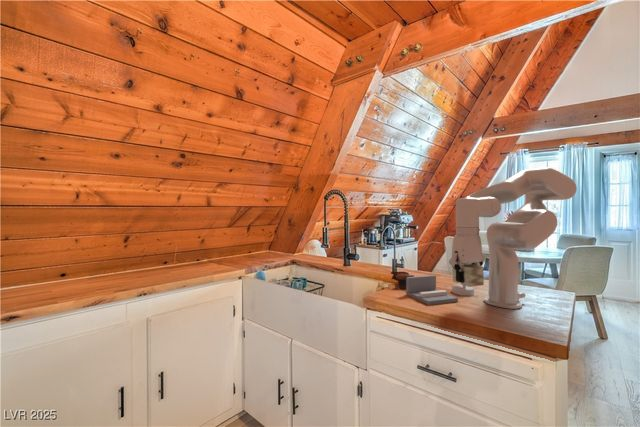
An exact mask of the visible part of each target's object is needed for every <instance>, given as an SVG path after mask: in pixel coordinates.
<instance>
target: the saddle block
mask: <svg viewBox="0 0 640 427" xmlns="http://www.w3.org/2000/svg"><path fill="white" fill-rule="evenodd" d="M459 267H460V264H459ZM463 272H464V282H465V286H468V287H477V286H484V284H485V283H484V281H485V280H484V266H483V265H482V266H478V265H474V264H471V263H470V264H465V265H464V268H463ZM452 282H453V283H456V284H457V283H460V282H458V281H456V270H454V268H453V267H452Z"/></svg>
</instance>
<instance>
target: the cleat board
mask: <svg viewBox="0 0 640 427" xmlns="http://www.w3.org/2000/svg"><path fill="white" fill-rule="evenodd" d="M414 276H415V275H414ZM405 290H406V291H405V293H406V294H405V295H406V296H407V297H410V298H413V299H414V300H416V301H418V302H421V303H422V304H424V305H426V306H433V305H442V304H452V303H458V300H459V299H458V298H459V297H456V296H453V295H452V294H448V291H447V290H445V289H443V290H441V289H440V290H438V289H437V275H435V274H432V275H416V276H415V277H406V289H405Z"/></svg>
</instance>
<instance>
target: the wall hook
mask: <svg viewBox="0 0 640 427" xmlns="http://www.w3.org/2000/svg"><path fill="white" fill-rule="evenodd" d="M459 283H460V284H453V285H452V286H451V293H452V294H455V295H458V296H463V297H464V296H465V297H467V296H468V297H469V296H470V297H471V296H474V294H475V288H474V286H472V287H468V286H465V282H464V283H461V282H459Z"/></svg>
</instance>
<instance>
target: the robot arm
mask: <svg viewBox="0 0 640 427" xmlns="http://www.w3.org/2000/svg"><path fill="white" fill-rule="evenodd" d="M576 193H577V185H576V181H574V179H572V178H571V177H570V176H568V175H566V174H564V173H563V172H561V171H559V170H558V169H557V170H556V169H555V168H552V167H549V166H547V167H546V166H545V167H537V168H529V169H527V168H526V169H522V170H520V171H517V172H516V173H514V174H512V175H511V176H510V177H507V178H506V179H505V180H502V181H500V182H499V183H496V184H492V185H489V186H486V187H484V188H482V189H479V190H476V191H474V192H472V193H470V194H469V195H467V196H466V197H460V198H457V199H456V201H455V235H454V236H453V240H452V247H451V257H450V259H449V260H448V263H449V264H450V265H451V267H452V269H453V268H454V270H456V281H458V282H459V283H460V282H461V283H464V272H463V268H464V265H465V264H474V265H478V266H483V265H484V262H485V261H486V256H484V254H483V247H482V238H481V235H480V231H481V229H480V218H494V217H496V216H498V215H499V214H500V212H501V210H502V204H503V205H504V204H508V203H512V202H514V201H516V200H518V199H519V198H521V197H522V196H524V197H525V198H524V204H523V205H522V206H521V207H519V208H518V209H515V211H514V212H512V213H511V214H510V215H509V216H508V218H507V220H506V221H498V222H494V223H492V224H490V225H489V226H488V227H487V229H486V239H487V245H488V295H487V296H485V297H483V302H485V304H487V305H490V306H493V307H497V308H501V309H514V310H517V309H521V308H523V303H522V302H521V301H520V300H521V299H523V298H524V299H525V297H526V294H525V292H518V291H519V290H518V289H519V288H518V286H519V284H518V282H519V258H518V255H517V252H516V250H515V249H519V250H525V251H528V250H529V251H531V250H535V248H537V247H539V246H540V245H541V244H542V243H543V242H545V241H546V240H547V239H548V238H549V237H551V236H552V235H553V234H554V233H555V231H556V229H557V227H558V218H557V216H556V214H555V212H553V211H551V210H549V209H548V208H547V207H546V205H545V203H543V201H563V200H564V201H565V200H569V199H571V198H573V197H574V196H575V194H576ZM459 264H460V267H459ZM461 283H460V284H461Z"/></svg>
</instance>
